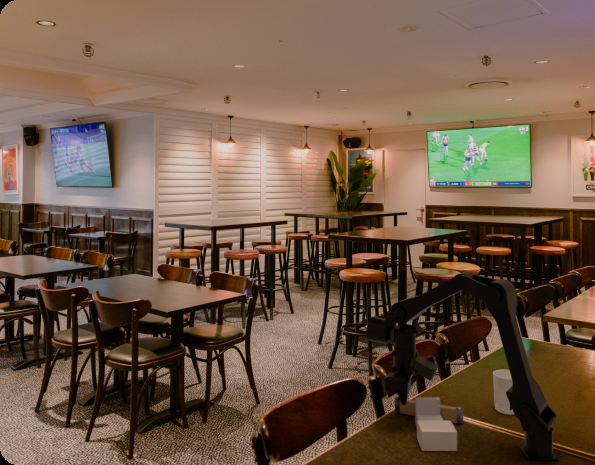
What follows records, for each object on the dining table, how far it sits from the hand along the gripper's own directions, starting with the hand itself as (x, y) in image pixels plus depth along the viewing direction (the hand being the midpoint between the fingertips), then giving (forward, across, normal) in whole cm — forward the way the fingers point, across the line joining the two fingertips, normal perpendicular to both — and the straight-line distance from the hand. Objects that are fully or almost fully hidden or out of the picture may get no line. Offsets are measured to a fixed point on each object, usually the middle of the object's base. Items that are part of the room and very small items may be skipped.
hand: (404, 404), depth 136 cm
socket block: (+3, -12, -11) cm, 17 cm away
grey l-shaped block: (+3, -6, -8) cm, 11 cm away
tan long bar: (+3, +1, -6) cm, 7 cm away
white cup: (+3, +16, -25) cm, 29 cm away
